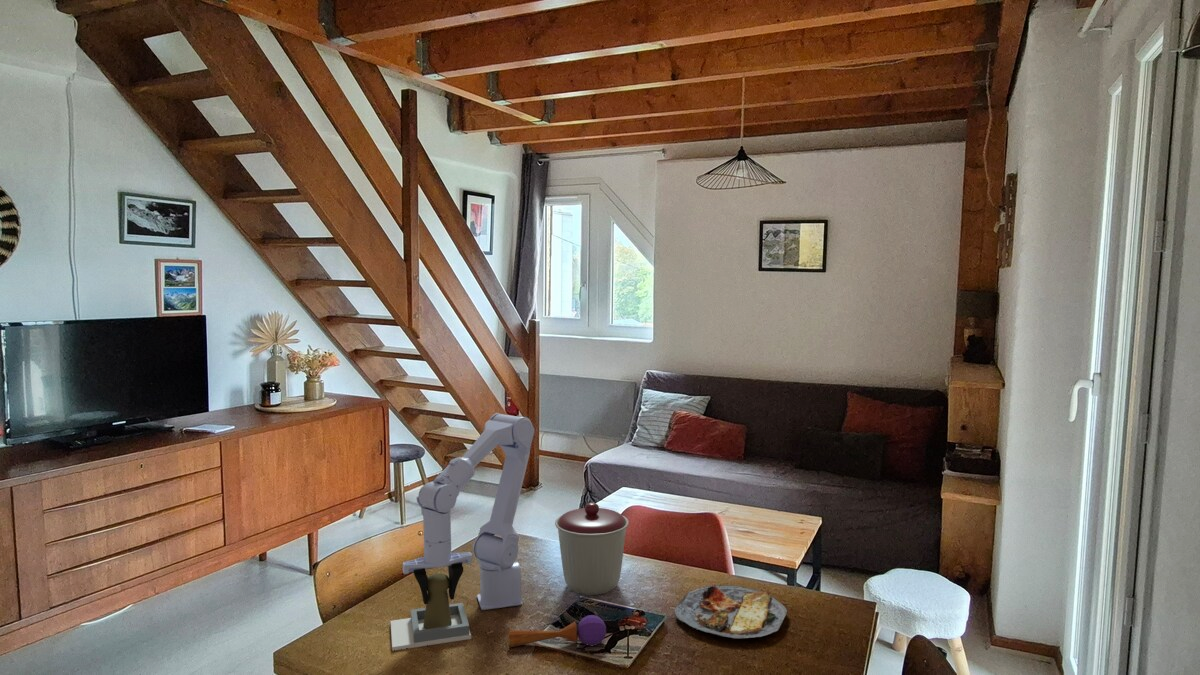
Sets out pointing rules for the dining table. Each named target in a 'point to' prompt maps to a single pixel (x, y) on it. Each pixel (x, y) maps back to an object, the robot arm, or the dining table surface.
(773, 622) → the food plate
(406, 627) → the socket board
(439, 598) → the olive knobbed tapered peg
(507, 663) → the dining table surface
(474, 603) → the dining table surface
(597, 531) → the canister
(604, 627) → the kendama
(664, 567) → the dining table surface
